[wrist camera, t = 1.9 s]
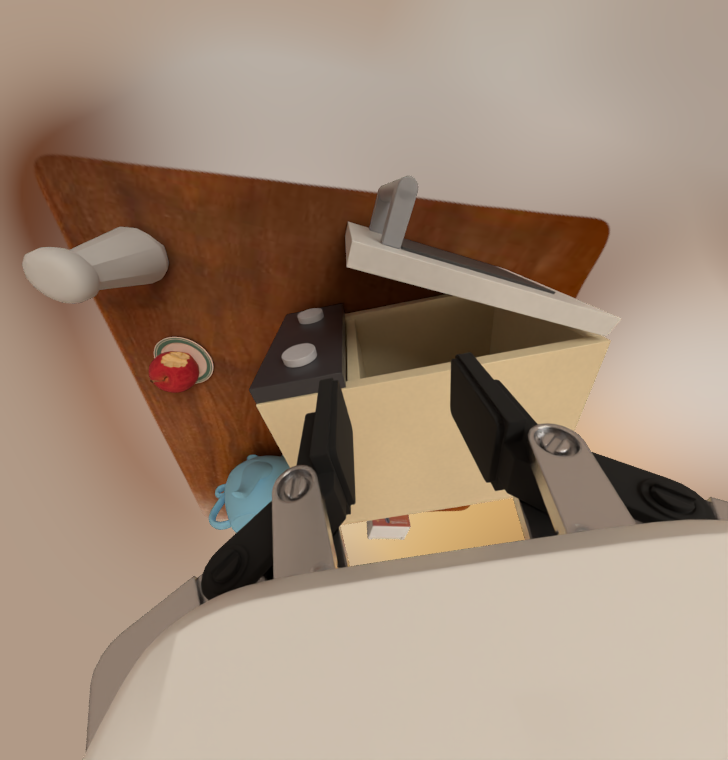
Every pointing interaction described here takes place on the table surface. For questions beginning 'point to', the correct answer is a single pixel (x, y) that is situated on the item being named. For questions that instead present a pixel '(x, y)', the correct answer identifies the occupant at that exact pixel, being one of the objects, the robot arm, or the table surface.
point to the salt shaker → (96, 265)
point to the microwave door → (456, 267)
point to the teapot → (247, 490)
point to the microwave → (418, 390)
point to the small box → (388, 528)
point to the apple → (179, 364)
